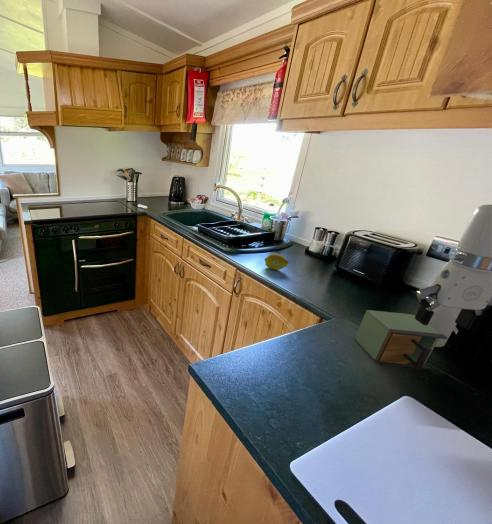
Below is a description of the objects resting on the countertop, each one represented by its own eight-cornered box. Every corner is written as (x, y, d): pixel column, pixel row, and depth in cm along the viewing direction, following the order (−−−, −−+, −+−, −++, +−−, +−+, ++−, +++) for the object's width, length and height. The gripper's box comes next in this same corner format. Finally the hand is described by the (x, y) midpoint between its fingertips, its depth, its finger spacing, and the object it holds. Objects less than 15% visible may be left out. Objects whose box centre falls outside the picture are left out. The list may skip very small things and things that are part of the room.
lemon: (260, 268, 145) (264, 253, 142) (265, 264, 151) (269, 249, 148) (282, 275, 139) (287, 259, 136) (287, 270, 144) (291, 255, 141)
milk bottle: (442, 351, 91) (475, 295, 83) (411, 338, 96) (439, 285, 88) (444, 341, 96) (475, 288, 88) (414, 330, 101) (441, 279, 93)
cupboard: (429, 369, 82) (447, 337, 78) (378, 364, 83) (394, 332, 79) (398, 343, 93) (413, 314, 89) (354, 338, 94) (366, 309, 89)
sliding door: (421, 378, 77) (438, 349, 74) (394, 375, 78) (409, 346, 74) (405, 363, 83) (420, 335, 79) (379, 360, 83) (393, 333, 79)
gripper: (450, 263, 62) (416, 329, 69) (535, 270, 61) (493, 336, 68) (421, 251, 69) (393, 312, 76) (497, 257, 68) (463, 319, 75)
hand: (441, 324), depth 72 cm, fingers open, 9 cm apart
